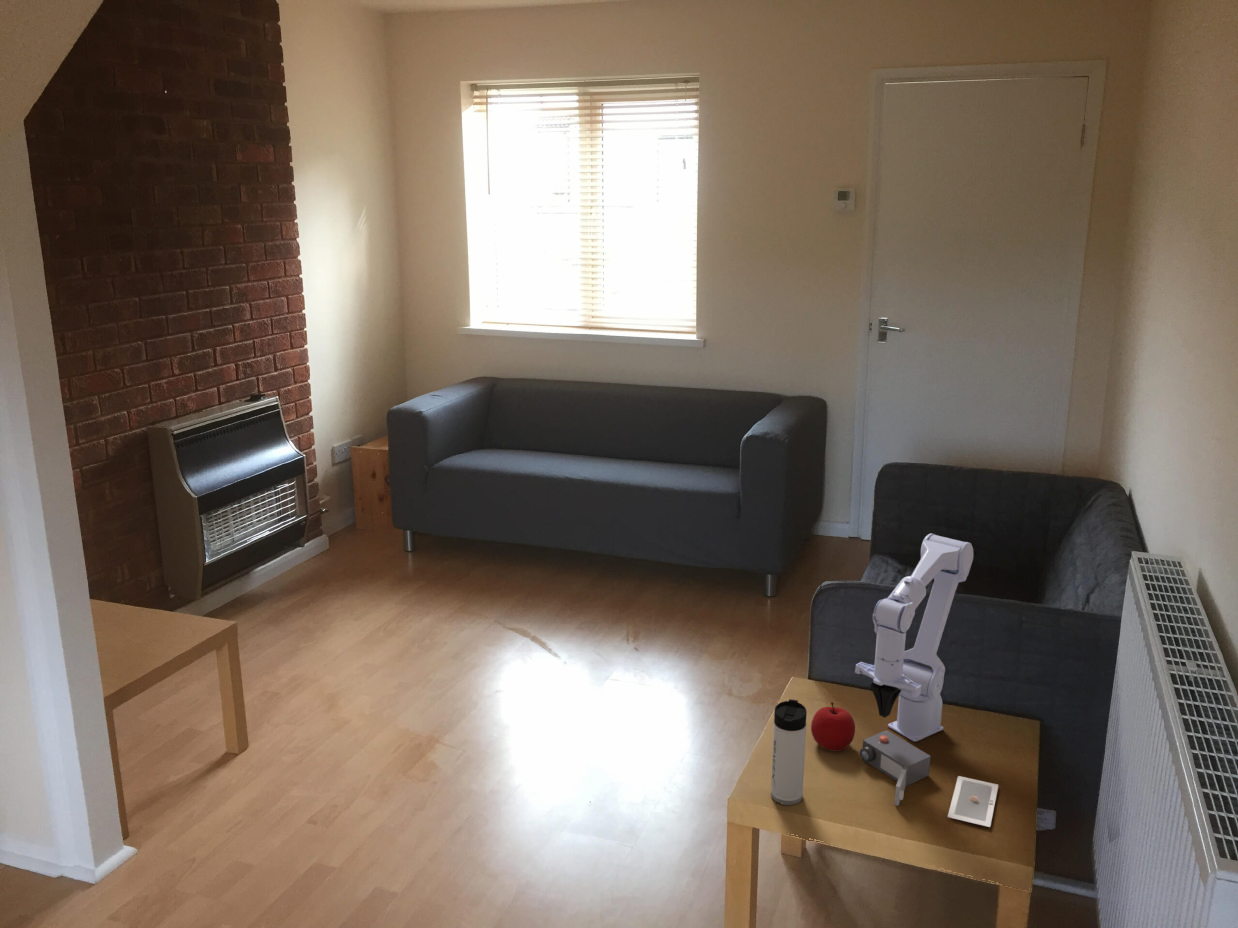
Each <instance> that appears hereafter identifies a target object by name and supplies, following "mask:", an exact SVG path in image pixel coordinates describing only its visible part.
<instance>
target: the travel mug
mask: <svg viewBox="0 0 1238 928" xmlns="http://www.w3.org/2000/svg"><path fill="white" fill-rule="evenodd" d="M807 711H808V710H807V708H806V707H805V706H804V705H803V703H800V702H799V700H797V699H790V698H789V699H788V700H785V701H781V702H779V703H778V704H776V705H775V707H774V713H773V715H774V718H773V730H772V731H773V733H772V754H771V755H772V758H771V759H772V760H771V761H772V762H771V781H770V782H771V783H770V786H771V788H770V797H771V799H772V798H773V799H774V800H775V802H776V801H777V802H779V803H783V804H785V805H784V806H794V805H793V804H795V805H797V803H798V804H799V803H801V801H802V799H803V798H804V797H803V796H804V794H803V793H804V791H803V790H804V775H805V774H804V773H805V759H806V758H805V757H806V756H805V754H806V735H807V713H808V712H807ZM773 799H772V800H773ZM774 800H773V801H774ZM777 802H776V803H777ZM779 803H778V804H779ZM791 804H792V805H791Z"/></svg>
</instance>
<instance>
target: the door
mask: <svg viewBox="0 0 1238 928" xmlns="http://www.w3.org/2000/svg"><path fill="white" fill-rule="evenodd" d="M906 780H907V767H905V766H904V767H902V771H901V774H900V776H899V779H898V782H897V781H896V785H895V793H894V803H893V804H894V805H895V806H899V805H900V802H901V801H903V800H904V797H905V796H904V795H905V794H904V793H905V790H906V789H907V786H906Z"/></svg>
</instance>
